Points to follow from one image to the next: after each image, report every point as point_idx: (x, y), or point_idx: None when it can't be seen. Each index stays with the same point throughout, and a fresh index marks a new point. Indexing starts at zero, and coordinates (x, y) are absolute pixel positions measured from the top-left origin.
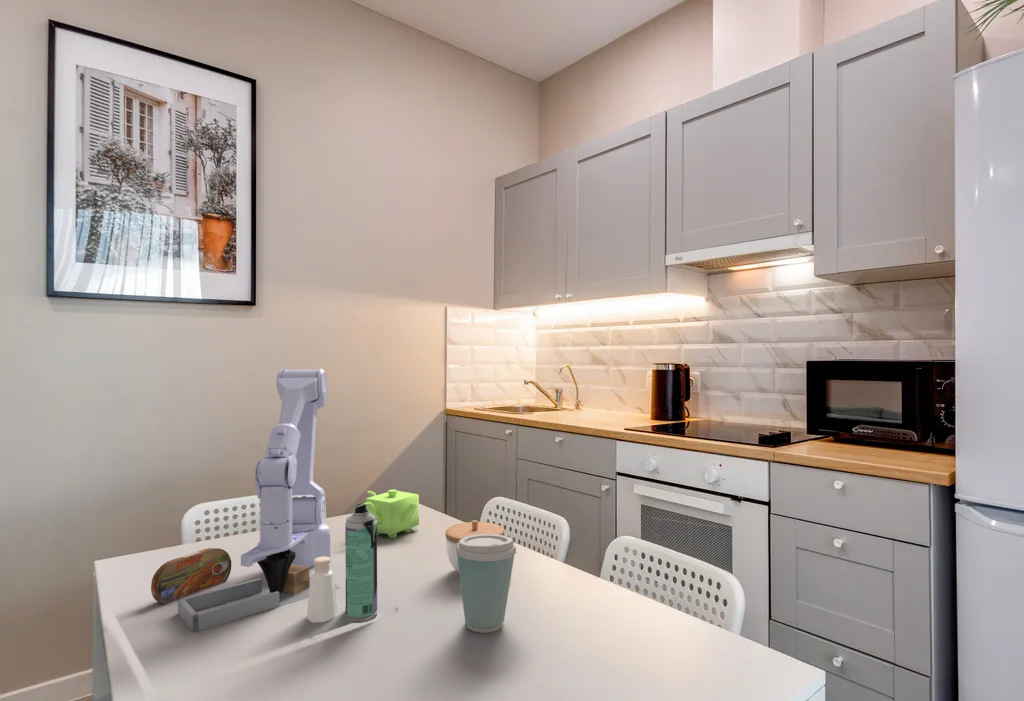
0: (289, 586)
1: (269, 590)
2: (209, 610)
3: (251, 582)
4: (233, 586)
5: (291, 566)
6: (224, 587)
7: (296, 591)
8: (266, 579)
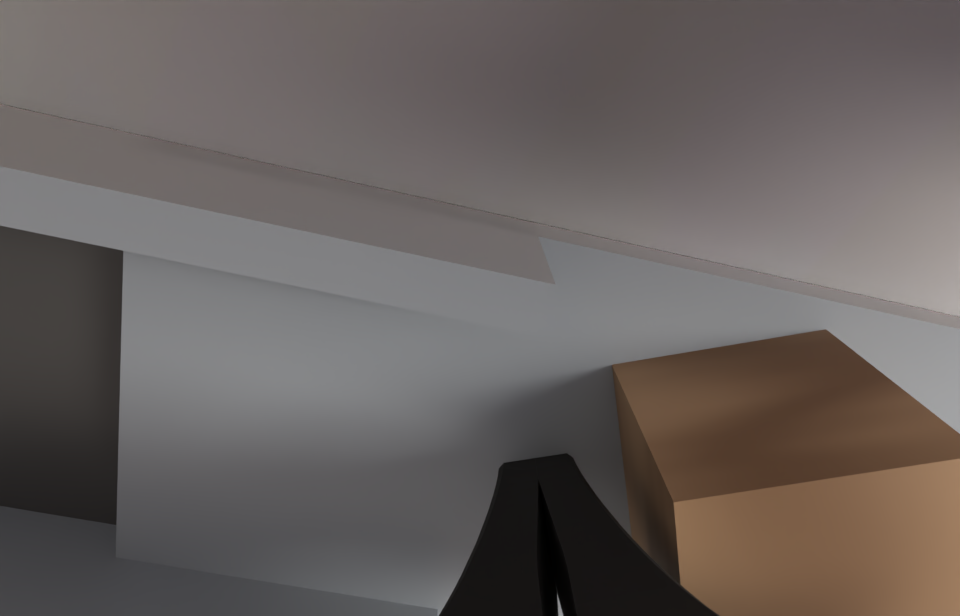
0: None
1: (498, 475)
2: None
3: (408, 305)
4: (171, 258)
5: (896, 548)
6: (66, 183)
7: None
8: (473, 551)
